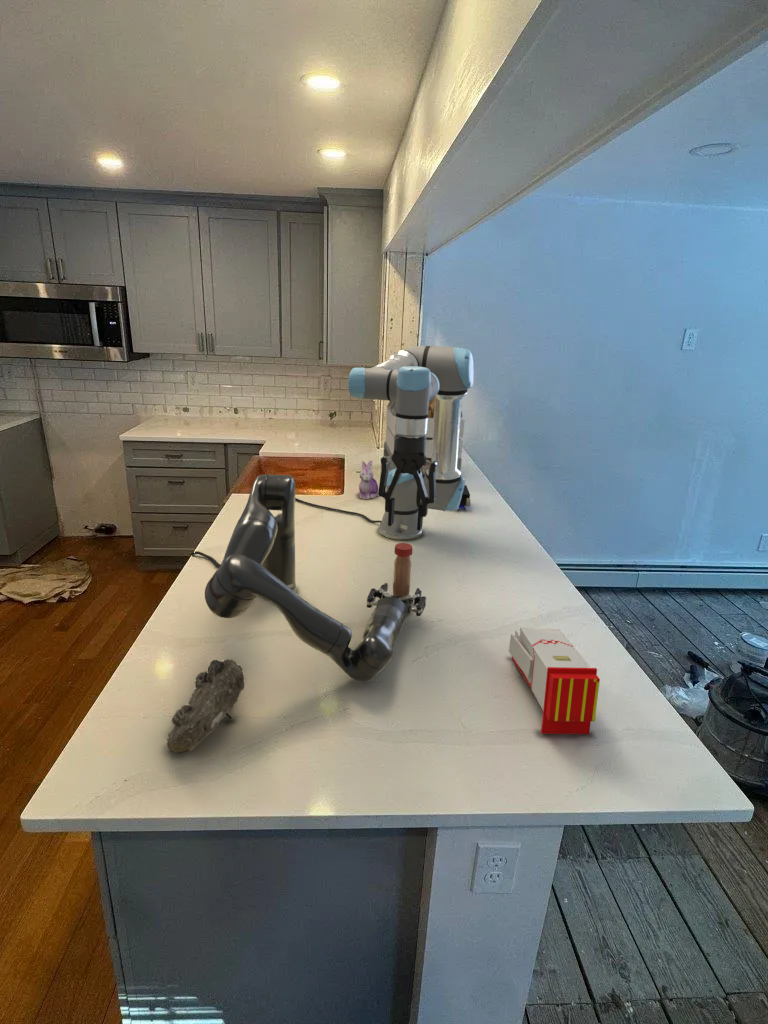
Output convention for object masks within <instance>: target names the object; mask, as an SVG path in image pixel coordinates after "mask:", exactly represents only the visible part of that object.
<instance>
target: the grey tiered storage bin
mask: <svg viewBox="0 0 768 1024" xmlns="http://www.w3.org/2000/svg"><path fill="white" fill-rule="evenodd" d="M434 400H435V398H434V399H433V400H432V401H430V402H429V406H428V422H427V434H425V435H424V436H425V437H426V451H425V455H426V457H427V460H430V461H431V459H432V439H433V420H434ZM388 401H389V400H388ZM385 414H386V415H385V423H386V428H385V438H384V442H383V456H392V455H393V452H394V437H395V435H396V433H395V419H396V401H389V402H388V404H387V405H386V413H385ZM464 429H465V419H464V418H463V411H461V418H460V432H459V446H458V460H457V469H458V470H459V471H460V472H461V473H462V461H463V460H462V453H463V442H464V441H463V440H462V439H463V438H464V431H465V430H464ZM423 467H427V465H426V464H425V465H424V466H423ZM396 468H397V467H396V466H395V464H394V463H393V461H391V464H390V465H389V472H390V471H391V470H393V469H396Z"/></svg>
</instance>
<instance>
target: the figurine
mask: <svg viewBox="0 0 768 1024" xmlns="http://www.w3.org/2000/svg"><path fill="white" fill-rule="evenodd" d="M372 466H373V460H369V461H368V463H367V464H366V462H365V461H364V460H362V461H361V471H360V472H359V478H360V482H359V484H358V490H359V492H358V497H359V499H363V500H369V499H374V498H377V497H378V490H379V484H378V481H377V480H376V478H374V473H373V471H372Z"/></svg>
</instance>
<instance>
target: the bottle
mask: <svg viewBox="0 0 768 1024" xmlns="http://www.w3.org/2000/svg"><path fill="white" fill-rule="evenodd" d="M412 565H413V563H412V559H411V556H409V557H400V556H397V555H396V556H395V559H394V561H393V573H392V574H393V575H392V576H393V577H392V591H391V593H392V594H391V595H394V596H399V597H405V596H407V595H411V581H412V580H411V579H412ZM407 601H408V600H407Z"/></svg>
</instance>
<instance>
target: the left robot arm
mask: <svg viewBox="0 0 768 1024" xmlns="http://www.w3.org/2000/svg"><path fill="white" fill-rule="evenodd" d="M296 489H297V487H296V481H295V478H294V477H293V475H289V474H270V473H269V474H267V473H266V474H259V475H258V476H257V477H256V478H254V480H253V483H252V486H251V488H250V491H249V495H248V499H247V503H246V504H245V507H244V509H243V511H242V513H241V515H240V517H239V519H238V520H237V523H236V524H235V527H234V529H233V532H232V534H231V537H230V539H229V541H228V544H227V547H226V550H225V552H224V556H223V559H222V561H221V563H219V562H217V560H216V559H215V558H213V557H212V556H211V555H208V554H206V553H204V552H201V551H199V550H198V551H196V552H195V551H193V552H191V553H190V554H189V555H190V556H194V555H199V556H202V557H204V558H206V559H208V560H210V561H211V562H212V563H213V564H214V565H215V566H216V567H218V568H217V569H216V570H215V572H214V573H213V575H212V576H211V577H210V579H209V580H208V582H207V583H206V586H205V588H204V600H205V602H206V605H207V607H208V608H209V611H211V612H212V613H213V614H214V615H215V616H217V617H220V618H223V619H234V618H236V617H239V616H241V615H243V614H244V613H245V612H246V611H247V610H248V609H249V608H250V607H251V605H252V604H253V603H254V602H255V600H256V599H257V598H258V597H261V598H263V599H265V600H266V601H268V602H270V603H272V604H273V605H274V606H275V607H276V608H277V609H278V610H279V612H280V613H281V614H282V615H283V616H284V618H285V621H287V623H288V625H289V626H290V628H291V630H292V631H293V633H294V634H295V636H296V637H297V638H298V639H299V640H300V641H302V642H303V643H304V644H305V645H308V646H309V647H311V648H313V649H314V650H317V651H319V652H320V653H322V654H324V655H325V656H328V658H330V659H331V660H332V661H333V662H334V663H335V664H336V665H337V666H338V667H339V668H340V669H341V670H342V671H343V672H344V673H345V674H346V675H347V676H348V677H349V678H351V679H352V680H354V681H356V682H359V683H368V682H370V681H372V680H373V679H374V678H375V677H377V675H378V674H379V673H380V672H381V671H383V669H384V668H385V667H386V666H388V664H389V663H390V662H391V661H392V658H393V657H394V654H395V641H396V639H397V637H398V635H399V634H400V632H401V631H402V628H403V625H404V624H405V621H406V618H407V616H408V614H410V613H415V616H417V617H421V616H422V614H423V613H424V610H425V609H426V606H427V605H426V603H427V596H425V595H424V596H422V595H423V594H422V593H423V591H422V590H421V588H420V587H417V588H416V589H415V591H414V594H412V595H411V594H410V595H407V596H405V597H399V596H394V595H392V594H390V593H389V592H388V589H389V584H388V583H387V582H384V584H381V585H380V587H379V588H378V589H377V588H370V591H369V593H368V595H367V597H366V608H367V609H371V608H373V607H375V608H374V610H373V612H372V613H371V615H370V618H369V622H368V623H367V626H366V627H365V629H364V632H363V635H362V641H360V642H359V643H358V644H357V645H356V647H355V648H354V649H352V648H351V647H349V646H350V644H351V641H352V638H353V633H352V630H351V628H350V627H349V626H347V625H346V624H344V623H343V622H341V621H339V620H337V619H336V618H333V617H332V616H330V615H329V614H326V612H323V611H322V610H320V609H318V608H317V607H315V606H314V605H312V604H310V603H309V602H308V601H307V600H306V599H304V598H303V597H302V596H300V595H299V594H298V592H297V593H296V591H297V587H296V586H297V585H296V526H295V525H296V524H295V521H296V520H295V519H296V516H295V515H296V514H295V513H296V512H295V511H296V500H295V498H296V492H297V491H296ZM271 511H281V513H279V515H278V514H277V515H278V516H277V515H276V516H274V514H273V513H272V512H271ZM194 552H195V553H194ZM376 598H378V600H377V599H376ZM407 600H408V601H407Z"/></svg>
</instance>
